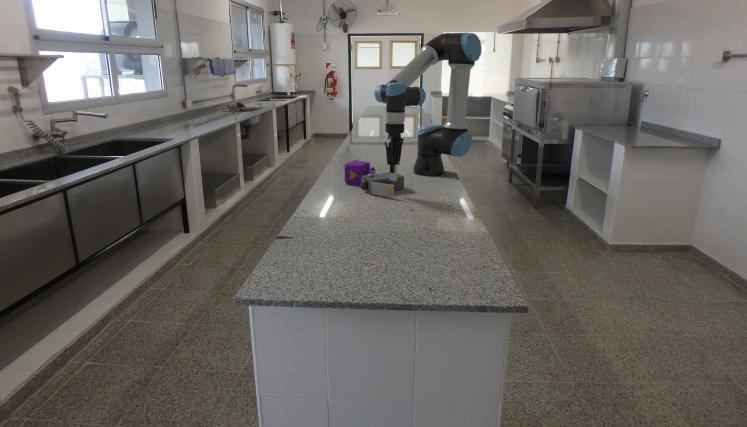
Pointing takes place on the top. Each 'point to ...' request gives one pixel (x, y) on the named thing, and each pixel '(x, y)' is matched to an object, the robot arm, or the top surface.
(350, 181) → the toy camera
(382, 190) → the side door
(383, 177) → the box
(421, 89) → the robot arm
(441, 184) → the top surface
